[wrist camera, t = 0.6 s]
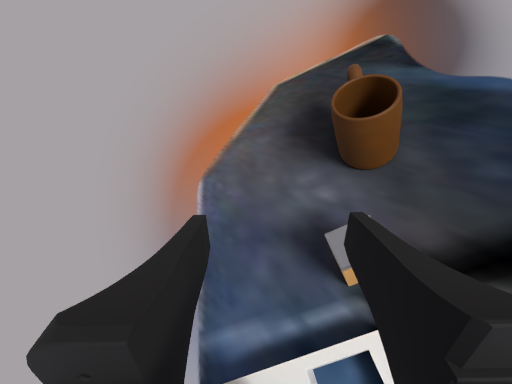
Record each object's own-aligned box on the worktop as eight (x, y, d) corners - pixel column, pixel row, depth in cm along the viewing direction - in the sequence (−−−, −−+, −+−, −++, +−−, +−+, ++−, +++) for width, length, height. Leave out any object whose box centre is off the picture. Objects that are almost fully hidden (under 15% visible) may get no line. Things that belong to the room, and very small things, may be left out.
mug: (331, 118, 41) (321, 66, 34) (382, 103, 38) (382, 44, 31) (344, 177, 34) (334, 128, 27) (406, 164, 32) (413, 107, 25)
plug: (389, 270, 26) (391, 248, 21) (348, 286, 27) (340, 268, 22) (371, 242, 29) (369, 215, 23) (334, 257, 29) (324, 234, 24)
